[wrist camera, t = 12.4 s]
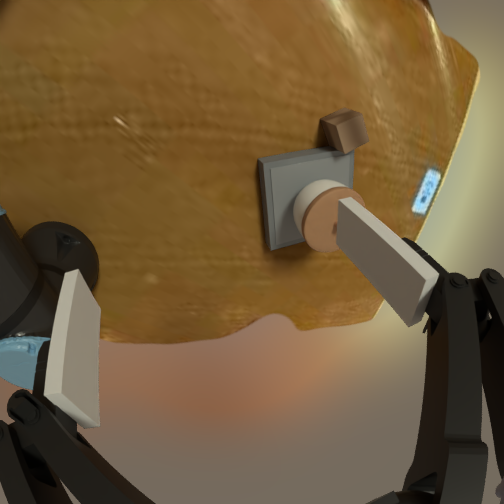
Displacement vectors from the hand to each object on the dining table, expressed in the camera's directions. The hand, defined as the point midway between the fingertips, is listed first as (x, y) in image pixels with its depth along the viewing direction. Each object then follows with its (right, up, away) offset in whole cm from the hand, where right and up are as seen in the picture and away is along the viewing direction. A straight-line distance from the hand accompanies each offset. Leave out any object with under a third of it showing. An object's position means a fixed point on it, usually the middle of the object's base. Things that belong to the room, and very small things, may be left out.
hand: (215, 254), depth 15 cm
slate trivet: (+11, +10, +38) cm, 41 cm away
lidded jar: (+12, +9, +36) cm, 39 cm away
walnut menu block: (+16, +21, +32) cm, 41 cm away
